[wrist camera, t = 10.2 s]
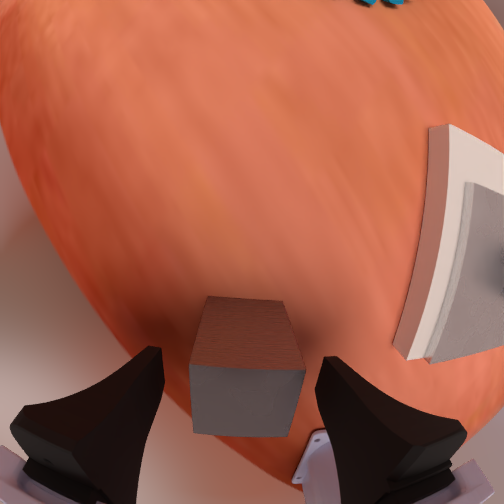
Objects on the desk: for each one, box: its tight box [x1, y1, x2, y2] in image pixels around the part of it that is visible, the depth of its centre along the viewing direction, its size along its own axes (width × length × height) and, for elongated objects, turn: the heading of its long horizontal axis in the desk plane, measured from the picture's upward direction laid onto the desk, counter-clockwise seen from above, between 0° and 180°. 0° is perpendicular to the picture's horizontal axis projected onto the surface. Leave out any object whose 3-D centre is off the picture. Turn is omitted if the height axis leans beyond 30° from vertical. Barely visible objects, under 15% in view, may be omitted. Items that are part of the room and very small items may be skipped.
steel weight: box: [189, 296, 306, 437], centre depth 12 cm, size 4×4×6 cm
